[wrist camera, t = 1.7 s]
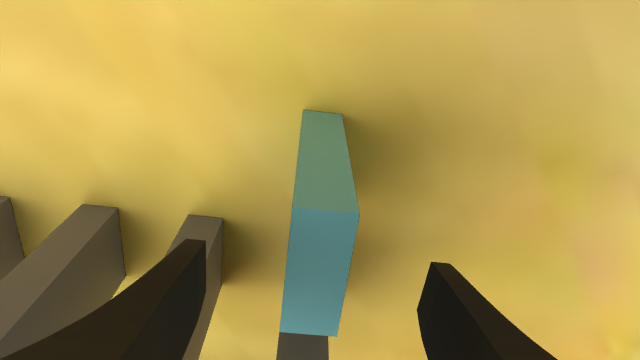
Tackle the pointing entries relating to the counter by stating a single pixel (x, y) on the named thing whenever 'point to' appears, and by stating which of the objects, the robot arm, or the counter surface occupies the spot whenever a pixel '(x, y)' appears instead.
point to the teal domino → (320, 228)
